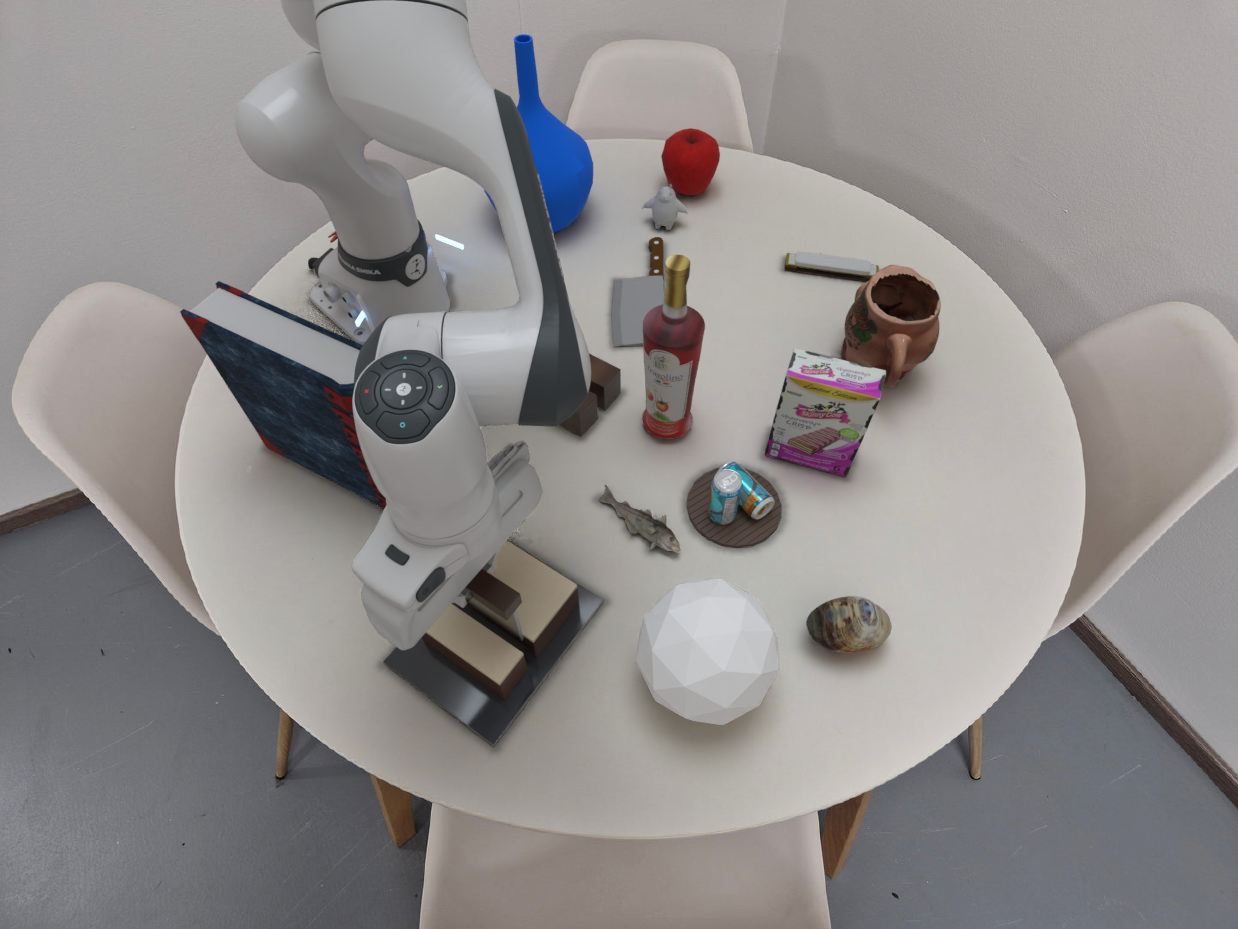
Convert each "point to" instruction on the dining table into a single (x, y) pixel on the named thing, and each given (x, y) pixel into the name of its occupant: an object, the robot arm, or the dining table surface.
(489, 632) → the cake slice
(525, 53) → the vase
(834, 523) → the dining table surface
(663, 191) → the figurine
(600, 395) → the slicer stand
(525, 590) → the cake
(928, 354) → the decorative planter
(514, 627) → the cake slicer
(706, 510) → the drink cans on coaster
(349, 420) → the book
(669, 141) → the apple
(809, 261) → the harmonica
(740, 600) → the geometric shape
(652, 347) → the liquor
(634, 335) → the kitchen cleaver
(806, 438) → the candy bar box
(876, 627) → the seashell
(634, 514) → the fish
